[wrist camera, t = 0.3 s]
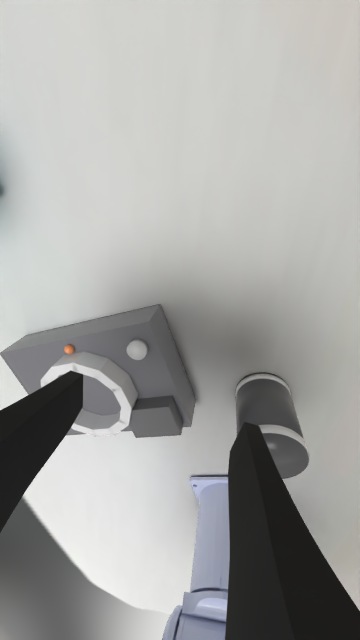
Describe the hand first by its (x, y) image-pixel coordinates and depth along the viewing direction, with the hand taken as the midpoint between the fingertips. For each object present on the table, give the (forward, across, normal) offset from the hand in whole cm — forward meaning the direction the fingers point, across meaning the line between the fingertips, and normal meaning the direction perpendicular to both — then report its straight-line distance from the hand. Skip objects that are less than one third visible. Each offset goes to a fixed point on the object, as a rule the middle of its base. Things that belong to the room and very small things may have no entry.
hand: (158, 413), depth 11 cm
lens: (+10, -8, +5) cm, 13 cm away
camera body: (+10, +6, +7) cm, 14 cm away
